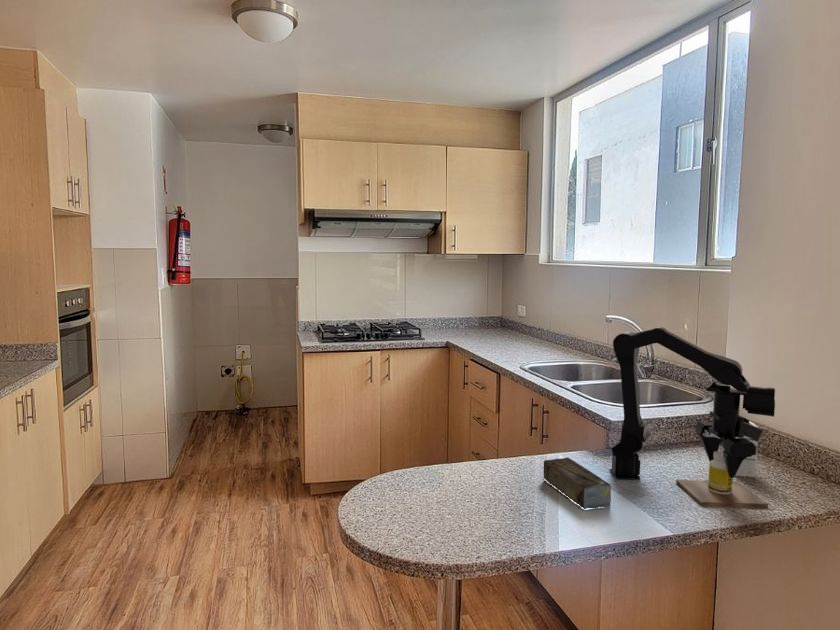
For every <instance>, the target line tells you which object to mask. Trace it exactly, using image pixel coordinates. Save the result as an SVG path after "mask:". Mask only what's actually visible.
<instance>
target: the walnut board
mask: <svg viewBox="0 0 840 630" xmlns="http://www.w3.org/2000/svg"><path fill="white" fill-rule="evenodd" d="M675 484H676V485H678V487H680V489H681V490H683V491H684V492H685V493H686V494H687V495H688V496H689V497H690V498H691V499H693V500H694V501H695V502H696V503H697V504H698V505H699V506H701V507H724V508H725V507H727V508H756V509H757V508H759V509H760V508H761V509H763V508H764V509H768V508H769V503H768V502H766V501H765V500H764V499H762V498H761V497H760V496H758V495H757V494H755V493H754V492H753V491H751V490H750V489H748V488H747V487H745V486H744V485H743V484H741V483H740V482H738V481H735V480H734V481H732V492H731V494H728V495H722V494H717V493H714V492H711V491H710V490H709V489H708V480H700V479H699V480H695V479H694V480H693V479H692V480H691V479H676V480H675Z"/></svg>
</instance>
